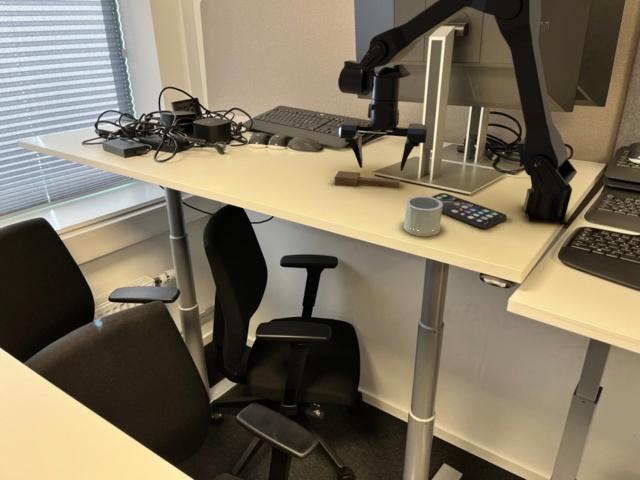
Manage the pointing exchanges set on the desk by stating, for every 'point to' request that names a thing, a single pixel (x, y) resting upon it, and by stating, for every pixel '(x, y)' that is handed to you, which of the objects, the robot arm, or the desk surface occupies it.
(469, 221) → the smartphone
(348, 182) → the brown block with handle
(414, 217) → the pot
